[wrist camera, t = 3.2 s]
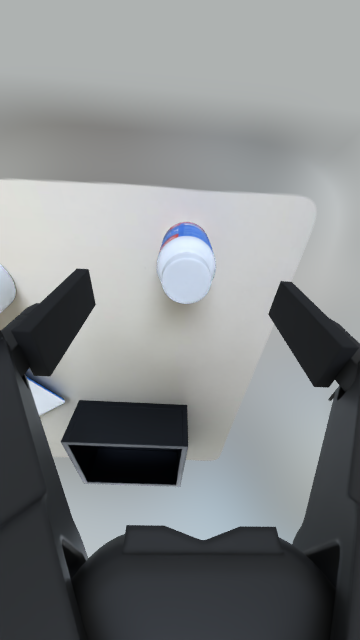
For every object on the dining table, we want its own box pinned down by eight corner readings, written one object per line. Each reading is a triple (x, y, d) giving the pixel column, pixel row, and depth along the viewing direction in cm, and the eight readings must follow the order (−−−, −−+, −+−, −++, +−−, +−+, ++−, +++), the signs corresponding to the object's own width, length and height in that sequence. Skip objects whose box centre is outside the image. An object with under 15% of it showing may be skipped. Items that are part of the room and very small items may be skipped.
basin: (187, 405, 43) (188, 446, 36) (180, 449, 54) (180, 486, 48) (79, 400, 42) (60, 441, 36) (95, 445, 54) (83, 483, 47)
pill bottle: (172, 212, 22) (167, 233, 14) (216, 233, 23) (235, 263, 15) (156, 258, 25) (144, 297, 17) (196, 275, 26) (202, 318, 18)
